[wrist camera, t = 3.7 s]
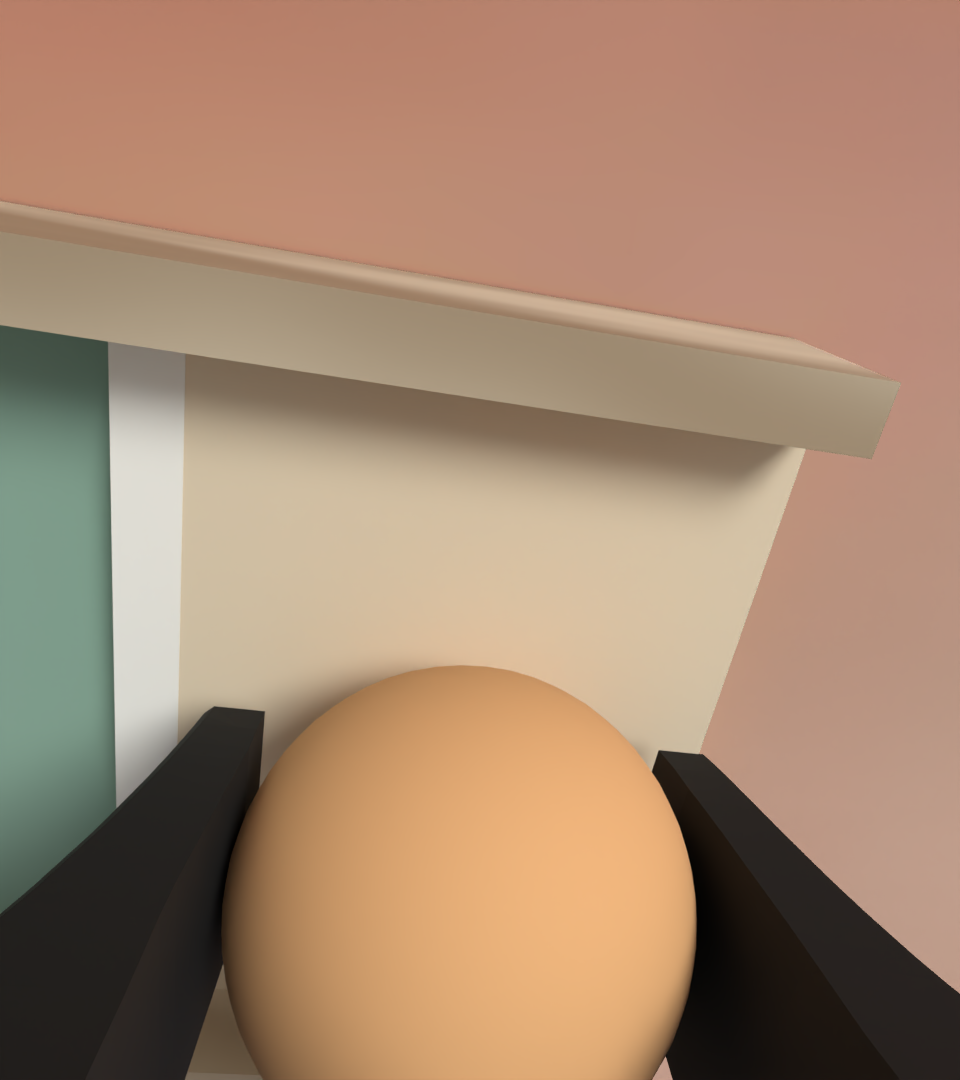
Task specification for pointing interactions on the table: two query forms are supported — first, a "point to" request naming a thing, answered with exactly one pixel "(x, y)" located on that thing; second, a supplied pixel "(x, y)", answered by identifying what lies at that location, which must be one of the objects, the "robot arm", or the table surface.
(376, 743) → the ball
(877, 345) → the table surface
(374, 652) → the lane
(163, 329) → the rails
